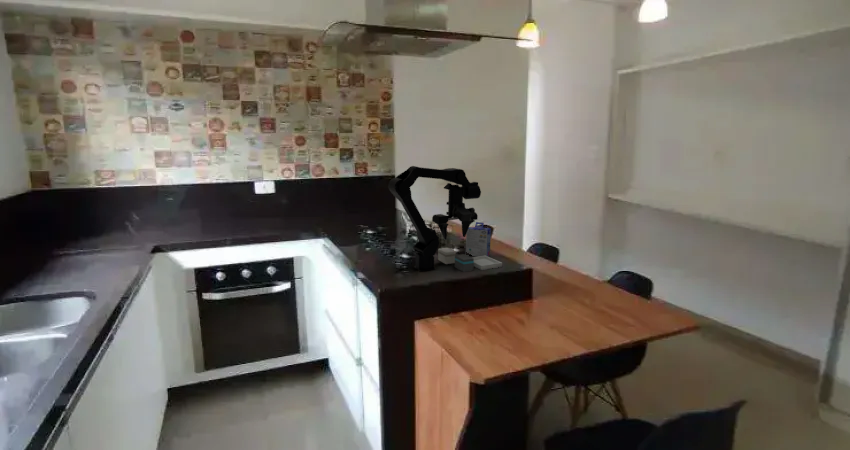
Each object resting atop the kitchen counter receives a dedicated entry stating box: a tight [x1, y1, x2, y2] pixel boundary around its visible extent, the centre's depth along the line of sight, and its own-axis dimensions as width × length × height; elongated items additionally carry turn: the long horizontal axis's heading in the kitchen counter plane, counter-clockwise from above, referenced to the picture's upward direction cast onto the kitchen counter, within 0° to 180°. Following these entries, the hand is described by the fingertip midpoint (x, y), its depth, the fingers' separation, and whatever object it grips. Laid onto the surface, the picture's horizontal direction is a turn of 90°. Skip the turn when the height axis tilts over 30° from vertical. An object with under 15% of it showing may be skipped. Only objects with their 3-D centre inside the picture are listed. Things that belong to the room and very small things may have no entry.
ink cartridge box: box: [465, 221, 492, 257], centre depth 202 cm, size 10×6×14 cm, turn 66°
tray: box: [471, 256, 503, 271], centre depth 189 cm, size 10×12×2 cm
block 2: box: [454, 253, 474, 273], centre depth 184 cm, size 5×7×5 cm, turn 26°
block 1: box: [437, 247, 457, 265], centre depth 194 cm, size 5×7×5 cm, turn 26°
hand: (454, 238), depth 188 cm, fingers open, 9 cm apart
